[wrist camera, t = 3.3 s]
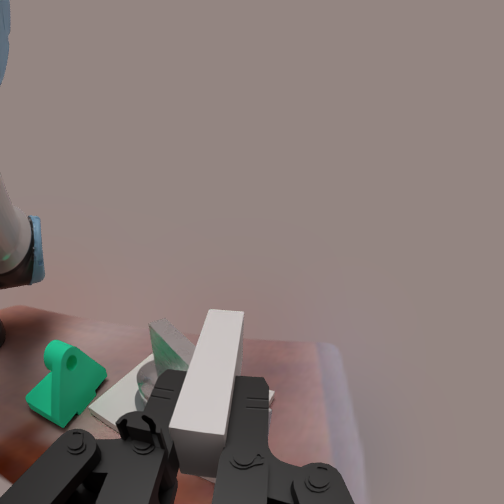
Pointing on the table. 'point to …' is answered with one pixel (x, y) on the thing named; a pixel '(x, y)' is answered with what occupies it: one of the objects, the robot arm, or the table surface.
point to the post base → (127, 400)
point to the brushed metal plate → (166, 357)
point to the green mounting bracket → (65, 383)
